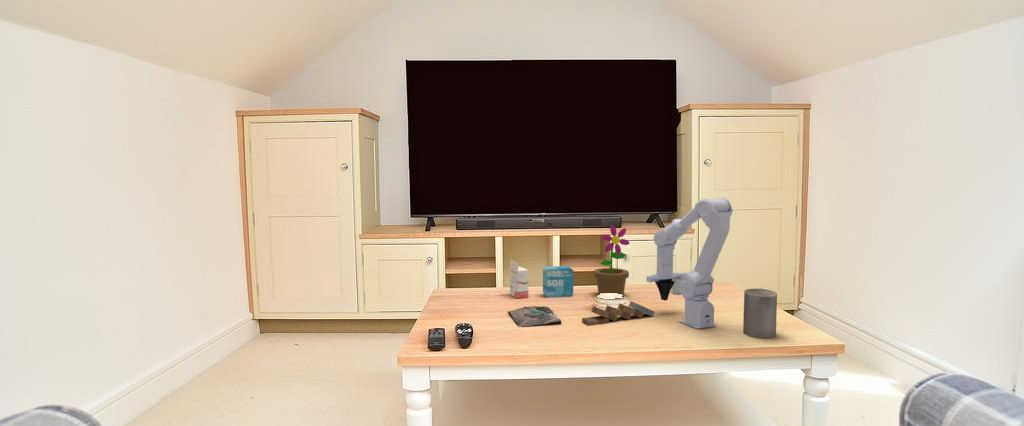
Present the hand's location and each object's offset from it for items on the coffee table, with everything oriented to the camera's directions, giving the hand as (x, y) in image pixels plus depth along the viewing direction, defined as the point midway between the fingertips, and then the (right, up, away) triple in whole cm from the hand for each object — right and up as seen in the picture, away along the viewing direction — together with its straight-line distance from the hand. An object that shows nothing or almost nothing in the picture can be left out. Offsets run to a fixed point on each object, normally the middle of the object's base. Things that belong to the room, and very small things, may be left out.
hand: (664, 299), depth 200 cm
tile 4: (-20, -5, -8) cm, 22 cm away
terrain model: (-48, -7, -4) cm, 49 cm away
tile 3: (-15, -5, -5) cm, 16 cm away
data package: (-37, -3, +27) cm, 46 cm away
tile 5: (-23, -6, -9) cm, 26 cm away
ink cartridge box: (-53, -3, +27) cm, 59 cm away
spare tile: (-6, -4, -2) cm, 8 cm away
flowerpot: (-15, -3, +27) cm, 31 cm away
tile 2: (-10, -5, -4) cm, 12 cm away
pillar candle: (+24, -7, -24) cm, 35 cm away
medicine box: (+16, -2, +30) cm, 33 cm away
